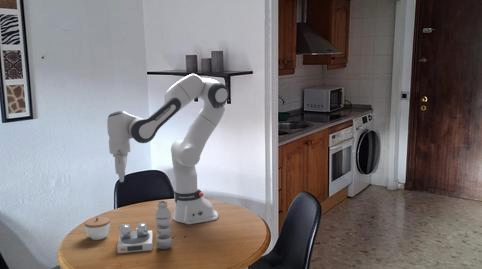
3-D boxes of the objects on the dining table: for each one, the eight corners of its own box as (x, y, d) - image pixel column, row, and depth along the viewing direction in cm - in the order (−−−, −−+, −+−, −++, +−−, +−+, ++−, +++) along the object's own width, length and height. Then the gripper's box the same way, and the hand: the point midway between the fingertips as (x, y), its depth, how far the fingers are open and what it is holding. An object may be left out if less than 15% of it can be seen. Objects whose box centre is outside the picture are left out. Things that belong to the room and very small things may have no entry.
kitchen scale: (152, 236, 190) (152, 228, 190) (152, 250, 176) (151, 241, 176) (120, 239, 188) (119, 231, 187) (117, 253, 174) (116, 245, 173)
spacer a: (131, 234, 183) (130, 223, 183) (130, 238, 179) (130, 227, 178) (120, 235, 183) (119, 224, 182) (119, 239, 178) (118, 228, 177)
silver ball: (148, 232, 185) (147, 222, 184) (148, 237, 180) (147, 226, 179) (137, 233, 184) (136, 223, 183) (136, 238, 179) (135, 227, 178)
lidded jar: (103, 230, 198) (102, 211, 196) (115, 237, 190) (113, 217, 189) (81, 237, 191) (80, 217, 189) (92, 244, 183) (90, 223, 181)
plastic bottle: (157, 244, 181) (154, 200, 178) (173, 244, 182) (171, 199, 179) (155, 251, 175) (153, 205, 172) (171, 250, 176) (169, 204, 172)
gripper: (126, 152, 177) (128, 184, 179) (128, 143, 196) (130, 172, 199) (110, 154, 175) (113, 186, 178) (114, 144, 195) (116, 173, 198)
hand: (122, 178), depth 189 cm, fingers open, 8 cm apart
